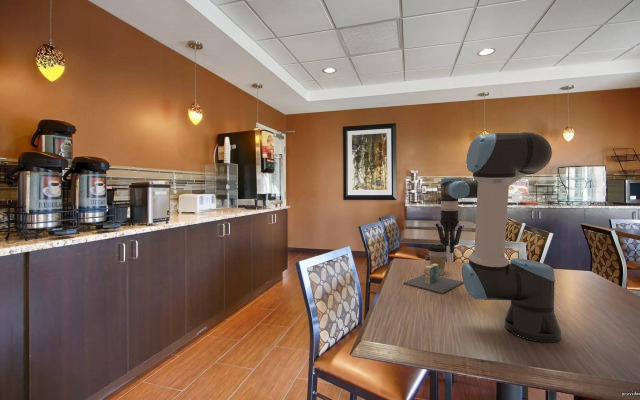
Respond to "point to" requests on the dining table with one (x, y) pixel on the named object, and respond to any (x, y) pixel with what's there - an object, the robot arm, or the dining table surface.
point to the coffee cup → (438, 257)
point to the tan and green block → (431, 273)
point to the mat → (434, 284)
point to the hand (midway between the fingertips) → (449, 259)
